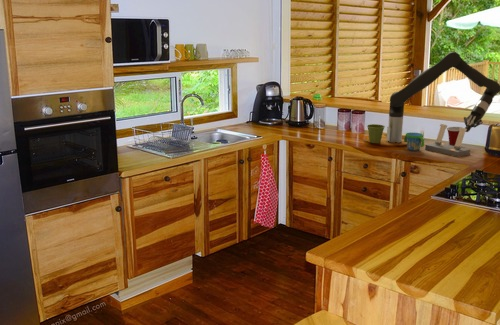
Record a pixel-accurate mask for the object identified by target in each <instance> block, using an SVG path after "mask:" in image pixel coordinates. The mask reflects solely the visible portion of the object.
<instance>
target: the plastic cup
mask: <svg viewBox="0 0 500 325" xmlns="http://www.w3.org/2000/svg"><path fill="white" fill-rule="evenodd" d="M459 128H464V127H463V126H449V127H448V126H447V128H446V130H447V134H448V142H449V144H448V145H452V146H455V144H456V140H457V137H458V134H459V131H460V130H459Z"/></svg>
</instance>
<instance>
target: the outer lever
mask: <svg viewBox="0 0 500 325" xmlns="http://www.w3.org/2000/svg"><path fill="white" fill-rule="evenodd" d="M459 130H460V131H459V134H458V137H457V140H456V144H455V146H454V148H456V149H461V148H462V143H463V140H464V137H465V134H466V132H465V131H466V130H467V129H465V127H463V128H459Z"/></svg>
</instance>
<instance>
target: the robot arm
mask: <svg viewBox="0 0 500 325" xmlns="http://www.w3.org/2000/svg"><path fill="white" fill-rule="evenodd" d="M452 68H454V69H456V70H458V72H460V73H461V74H463V75H464V76H465V77H467V79H469V80H470V81H471V82H473V83H474V85H477V86H478V87H479V88H485V90H484V92H483V93H482V96H481V97H480V98H479V100H478V102H476V104H475V105H474V106H473V109H472V110H471V111H470V114H469V115H468V116H463V122H464V125H465V127H464V128H465V129H467V130H466V131H465V133H469V132H470V131H471V129H472V128H476V127H479V126H481V125H482V124H483V120H482V119H483V117H484V116H485V114H486V113H487V111H488V110H489V108H490V107H491V104H492V103H493V101H494V100H493V99H494V98H495V96H496V95H498V94H499V93H500V83H499V82H497V81H495V80H494V79H491V78H488V77H487V76H485V75H484V74H483V73H482V72H480V71H479V70H477V69H476V68H474V67H473V66H471V65H469V63H467V62H466V61H465V60H464V59H463V58H461V55H460V54H459V53H458V52H457V51H450V52H448V53H447V54H446V55H445V56H444V57H443V58H441V60H440V61H438V62H436V64H434V65H432V66H430V67H428V68H427V69H425V70H423V71H422V72H421V73H419V74H418V75H417V76H415V77H414V78H413V79H412V80H411V81H410V82H409V83H408V84H407V85H406V86H405V87H403V88H402V89H400V90H399V91H395V92H393V93H391V95H390V97H389V112H388V126H387V129H386V141H387V142H388V141H389V142H388V143H395V142H397V143H401V142H403V141H402V140H403V139H402V138H403V124H404V113H405V112H404V110H405V109H404V108H405V102H407V101H408V100H409V99H410V98H411V97H413V96H414V95H416V94H418V93H419V92H421V91H423V90H424V89H426V88H427V87H428V86H430V85H432V83H434V82H435V81H436V80H437V79H438V78H439V77H440V76H442V75H443V74H444V73H446V72H447V71H450V69H452Z"/></svg>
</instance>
